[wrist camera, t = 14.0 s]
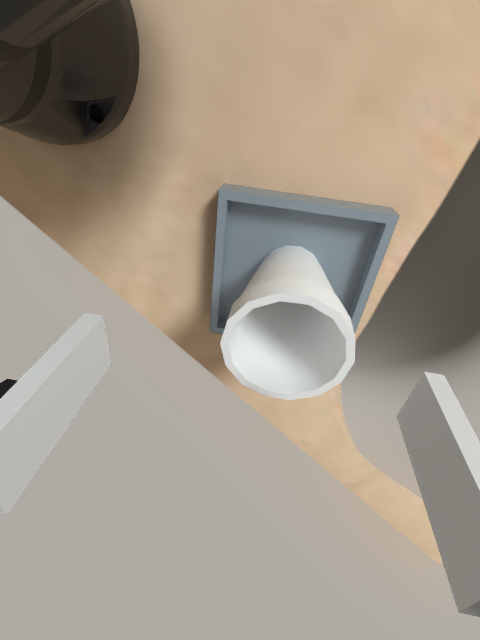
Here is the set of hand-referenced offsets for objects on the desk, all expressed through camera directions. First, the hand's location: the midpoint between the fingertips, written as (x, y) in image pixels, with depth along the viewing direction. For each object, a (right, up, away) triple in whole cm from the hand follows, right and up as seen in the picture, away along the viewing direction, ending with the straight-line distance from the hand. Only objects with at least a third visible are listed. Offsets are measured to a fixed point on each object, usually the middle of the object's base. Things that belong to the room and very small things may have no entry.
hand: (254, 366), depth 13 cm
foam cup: (+5, +7, +20) cm, 22 cm away
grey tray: (+5, +7, +21) cm, 22 cm away
